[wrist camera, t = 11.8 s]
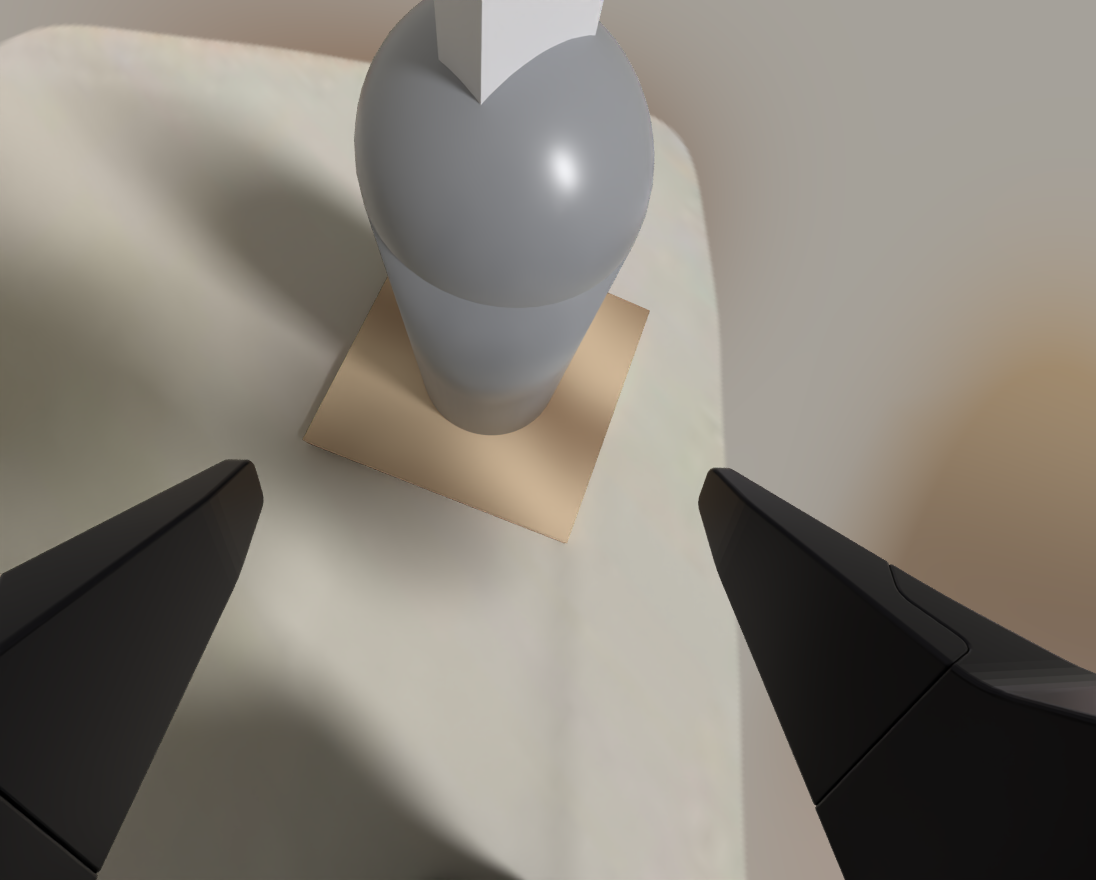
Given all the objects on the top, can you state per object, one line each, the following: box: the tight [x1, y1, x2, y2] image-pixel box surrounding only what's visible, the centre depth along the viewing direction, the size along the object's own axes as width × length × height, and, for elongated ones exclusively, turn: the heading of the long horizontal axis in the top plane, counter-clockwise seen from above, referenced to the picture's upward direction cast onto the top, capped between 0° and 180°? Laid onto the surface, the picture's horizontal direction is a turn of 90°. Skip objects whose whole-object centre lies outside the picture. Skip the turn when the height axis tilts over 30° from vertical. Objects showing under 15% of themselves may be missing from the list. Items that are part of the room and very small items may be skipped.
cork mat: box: [302, 277, 650, 543], centre depth 18 cm, size 10×10×1 cm
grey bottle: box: [354, 0, 654, 435], centre depth 11 cm, size 5×5×14 cm
